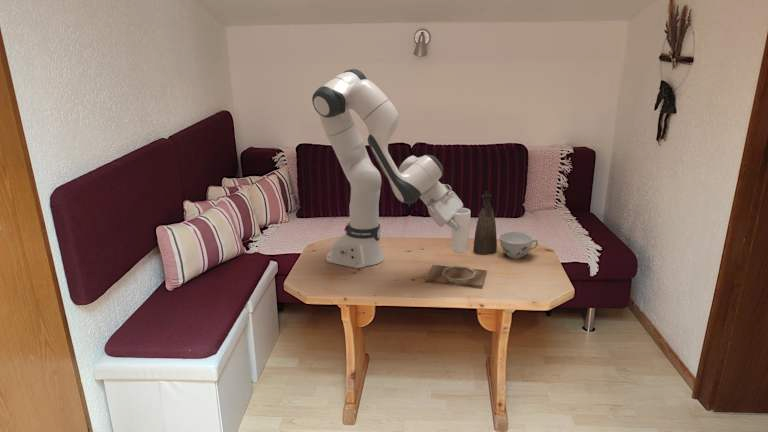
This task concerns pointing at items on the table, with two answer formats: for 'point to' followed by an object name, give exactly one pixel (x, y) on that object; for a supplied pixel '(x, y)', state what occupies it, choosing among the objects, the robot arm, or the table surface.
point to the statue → (485, 229)
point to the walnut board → (456, 276)
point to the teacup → (516, 244)
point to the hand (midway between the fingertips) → (461, 226)
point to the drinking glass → (461, 230)
